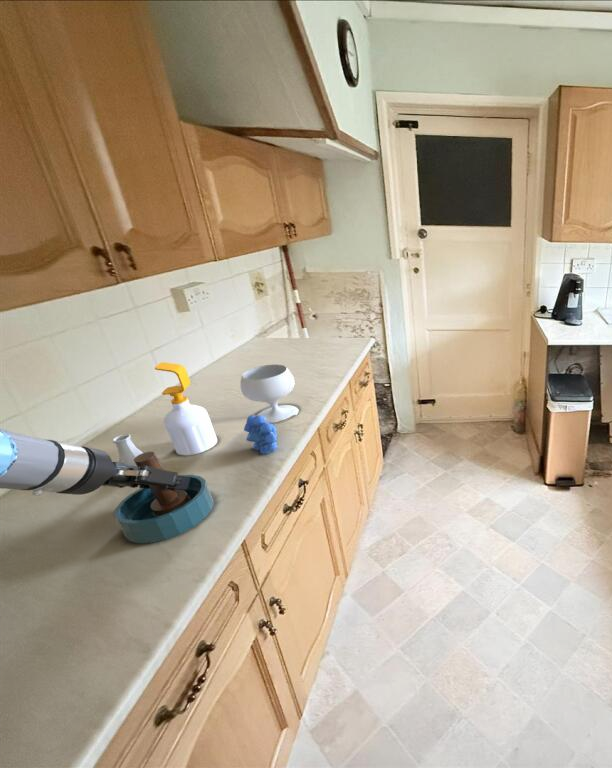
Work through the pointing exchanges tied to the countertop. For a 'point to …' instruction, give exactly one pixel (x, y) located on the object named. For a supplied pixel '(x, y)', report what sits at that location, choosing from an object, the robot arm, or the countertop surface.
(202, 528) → the countertop surface
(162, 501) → the dish brush
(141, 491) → the bowl
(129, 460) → the flask
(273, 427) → the grapes
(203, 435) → the soap bottle
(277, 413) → the chalice
